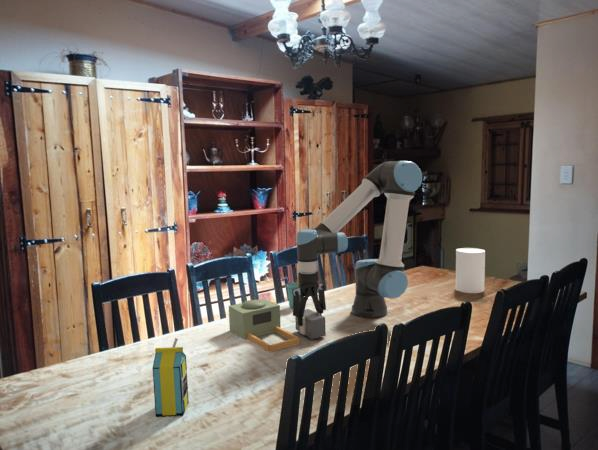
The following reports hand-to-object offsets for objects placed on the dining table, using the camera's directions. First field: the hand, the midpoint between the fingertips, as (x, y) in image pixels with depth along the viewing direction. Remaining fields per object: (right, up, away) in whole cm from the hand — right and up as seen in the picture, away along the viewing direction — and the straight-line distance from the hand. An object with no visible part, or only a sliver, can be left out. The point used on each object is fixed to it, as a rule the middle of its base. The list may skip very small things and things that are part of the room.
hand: (310, 331), depth 173 cm
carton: (-38, -9, -51) cm, 64 cm away
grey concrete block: (0, 0, 0) cm, 0 cm away
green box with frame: (-17, -2, 0) cm, 17 cm away
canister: (+81, +8, +57) cm, 100 cm away
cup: (-7, +3, +34) cm, 35 cm away
